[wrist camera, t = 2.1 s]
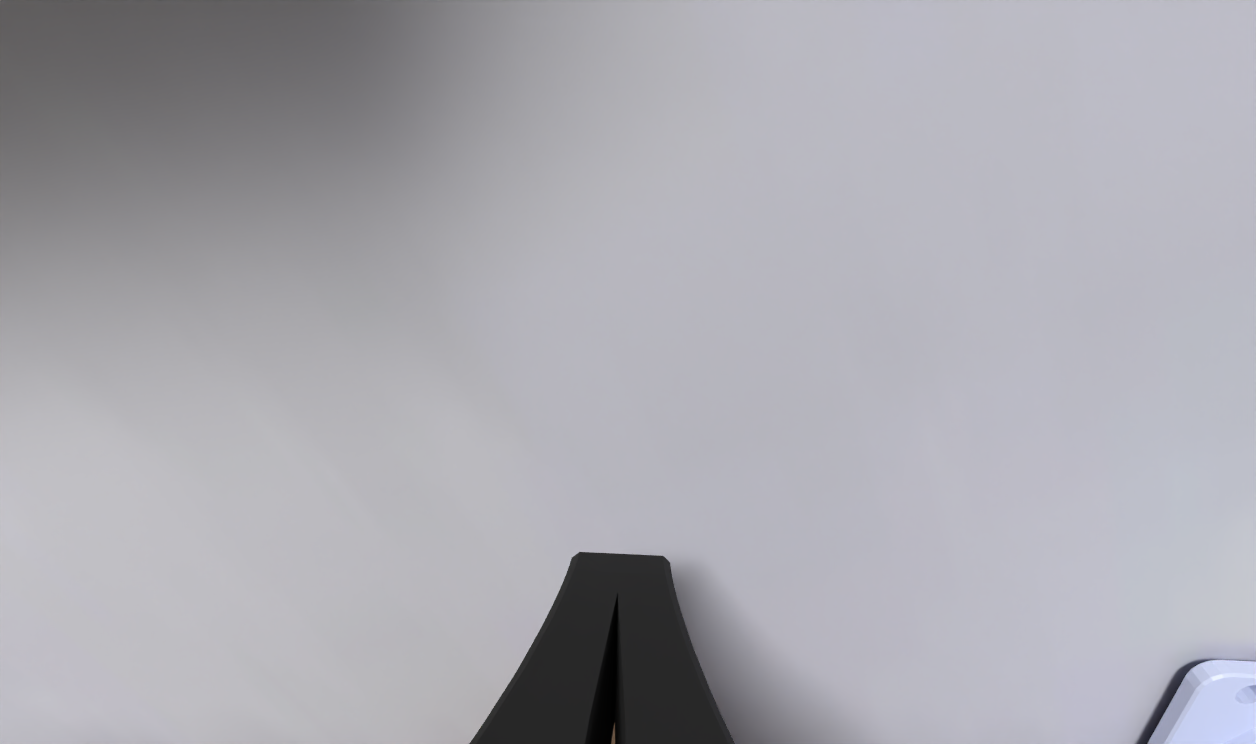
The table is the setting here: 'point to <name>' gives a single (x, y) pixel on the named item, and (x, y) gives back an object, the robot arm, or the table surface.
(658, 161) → the table surface
